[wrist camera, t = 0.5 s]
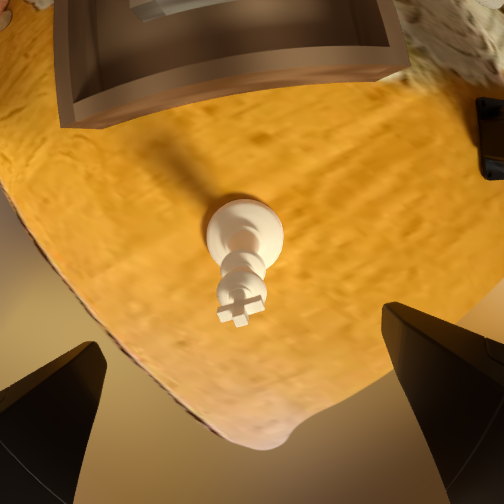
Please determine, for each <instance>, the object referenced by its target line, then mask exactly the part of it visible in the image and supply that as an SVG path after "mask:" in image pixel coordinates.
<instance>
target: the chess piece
mask: <svg viewBox="0 0 504 504" xmlns="http://www.w3.org/2000/svg"><path fill="white" fill-rule="evenodd" d="M283 237H284V235H283V228H282V224H281V222H280V220H279V218H278V216H277V215H276V214H275V212H274V211H273V210H272V209H271V208H269V207H268V206H267V205H265V204H263V203H261V202H259V201H256V200H251V199H239V200H234V201H231V202H229V203H227V204H225V205H223V206H222V207H220V208H219V209H218V210H217V211H216V212H215V213H214V215H213V216H212V218H211V219H210V222H209V224H208V227H207V246H208V250H209V252H210V254H211V256H212V258H213V259H214V261H215V262H216V263H217V264H218V265H219V266H220V272H221V276H222V279H221V280H220V282H219V284H218V287H217V298H218V301H219V303H220V304H221V307H218V310H217V315H218V317H219V319H220V321H221V323H222V322H226V321H229V320H233V321H234V323H235V325H236V328H237V327H240V326H244V325H248V315H250V314H253V313H257V312H260V311H264V310H265V306H264V302H265V300H266V296H267V290H266V286H265V283H264V281H263V279H264V277H265V272H266V269H267V268H268V267H270V266H271V265H272V264H273V263H274V262H275V261H276V259H277V258H278V256H279V254H280V252H281V249H282V245H283Z"/></svg>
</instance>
